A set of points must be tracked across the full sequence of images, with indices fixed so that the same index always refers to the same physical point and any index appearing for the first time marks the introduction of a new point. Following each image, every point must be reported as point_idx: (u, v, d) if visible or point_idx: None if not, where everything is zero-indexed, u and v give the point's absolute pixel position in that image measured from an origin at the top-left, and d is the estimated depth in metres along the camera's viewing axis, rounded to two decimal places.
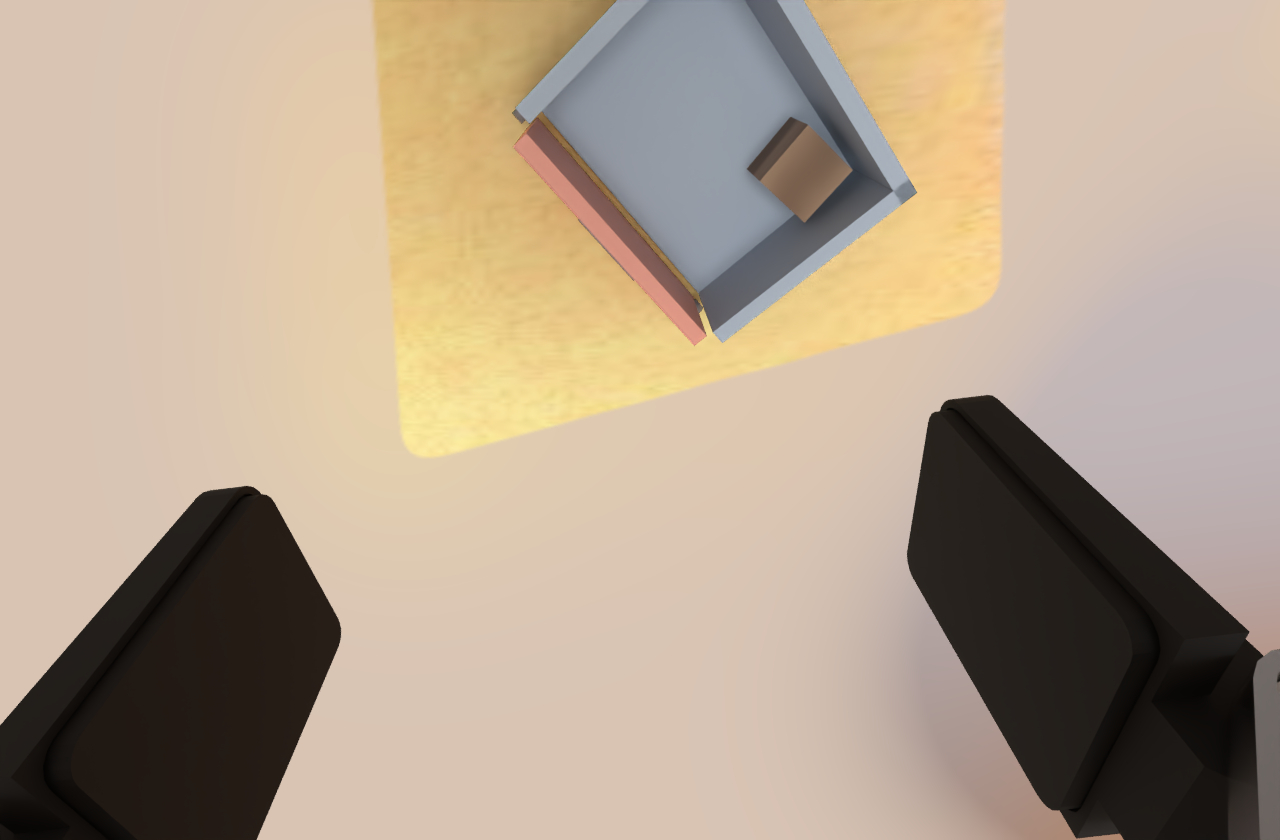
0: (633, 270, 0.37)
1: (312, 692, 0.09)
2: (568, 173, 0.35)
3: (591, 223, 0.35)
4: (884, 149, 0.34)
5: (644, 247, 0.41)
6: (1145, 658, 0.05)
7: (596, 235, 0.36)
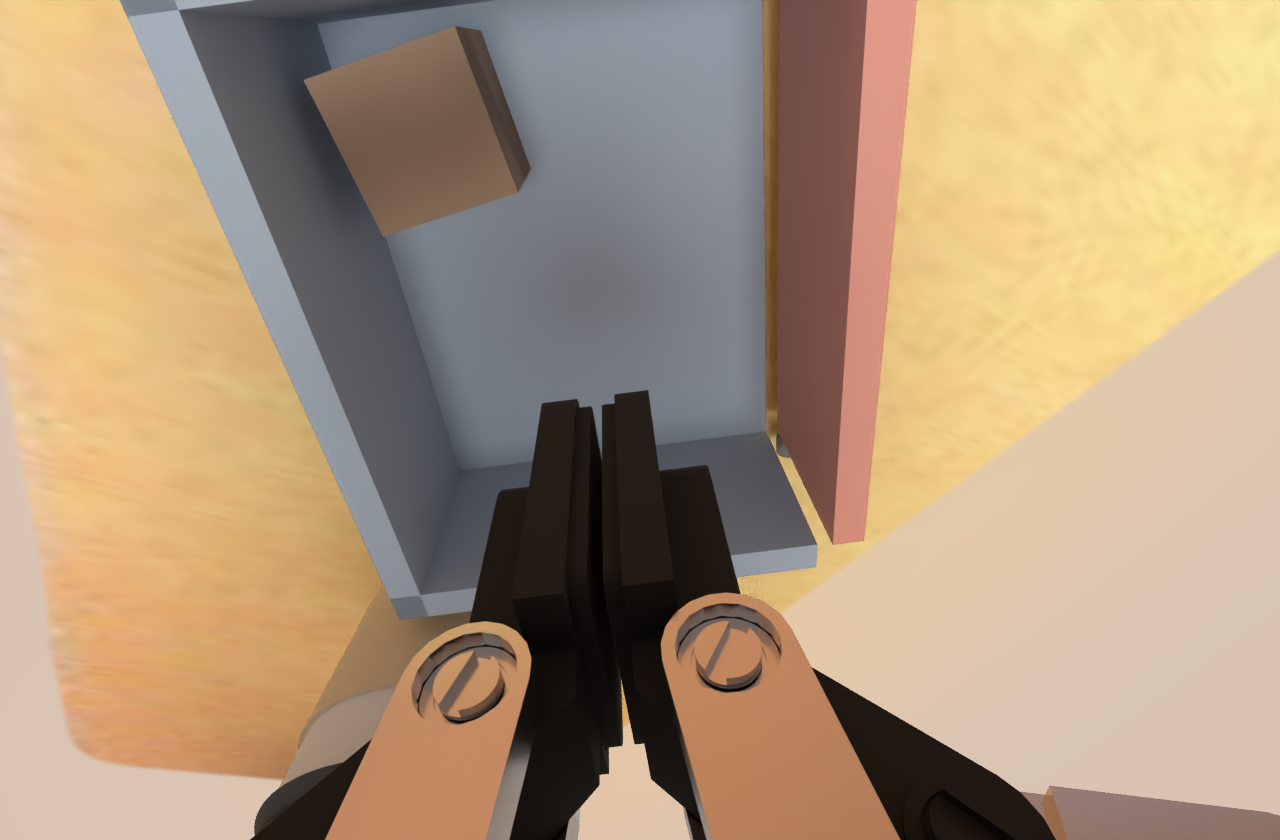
0: (878, 253, 0.15)
1: None
2: (820, 437, 0.20)
3: (865, 386, 0.17)
4: (199, 143, 0.13)
5: (795, 187, 0.19)
6: (618, 604, 0.06)
7: (877, 362, 0.17)
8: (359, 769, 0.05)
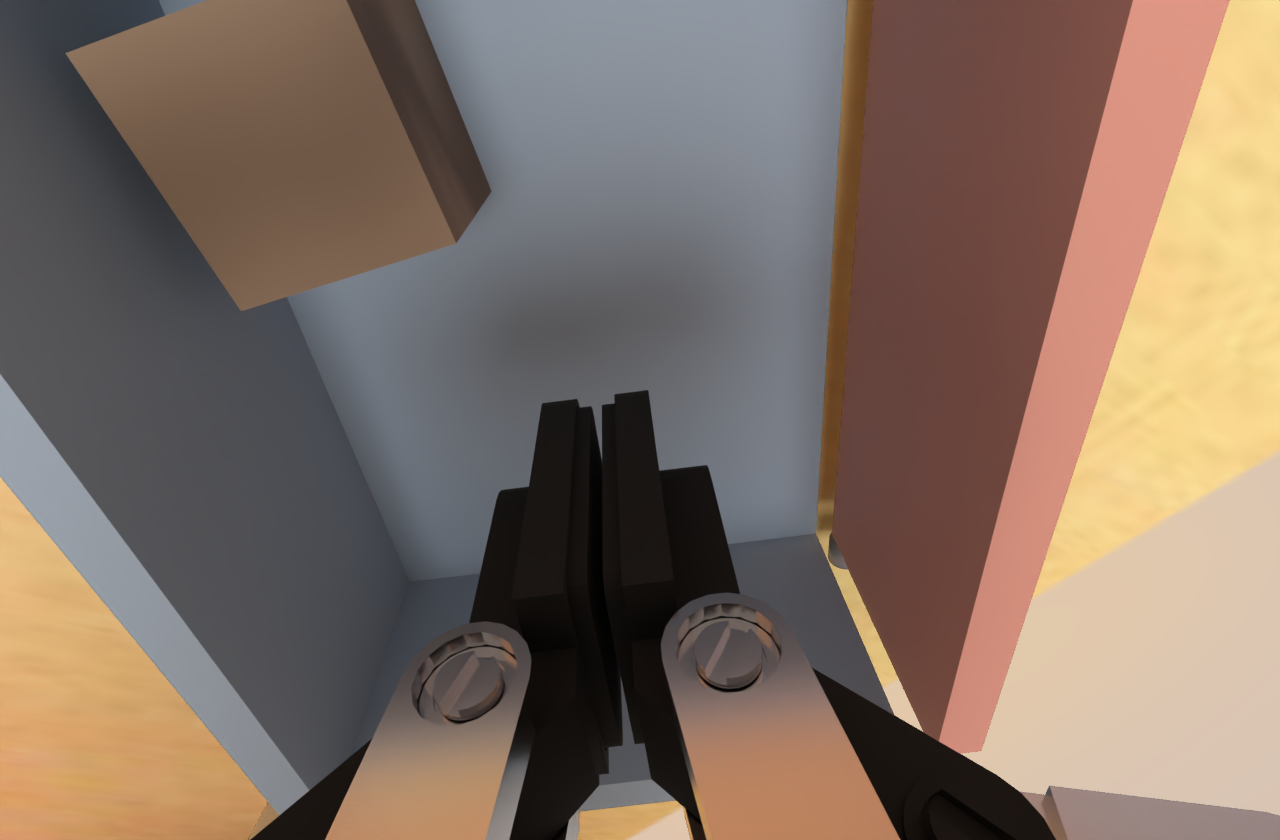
0: (1083, 372, 0.08)
1: None
2: (920, 600, 0.13)
3: (1022, 564, 0.10)
4: None
5: (894, 228, 0.12)
6: (617, 604, 0.06)
7: (1047, 532, 0.10)
8: (359, 771, 0.05)
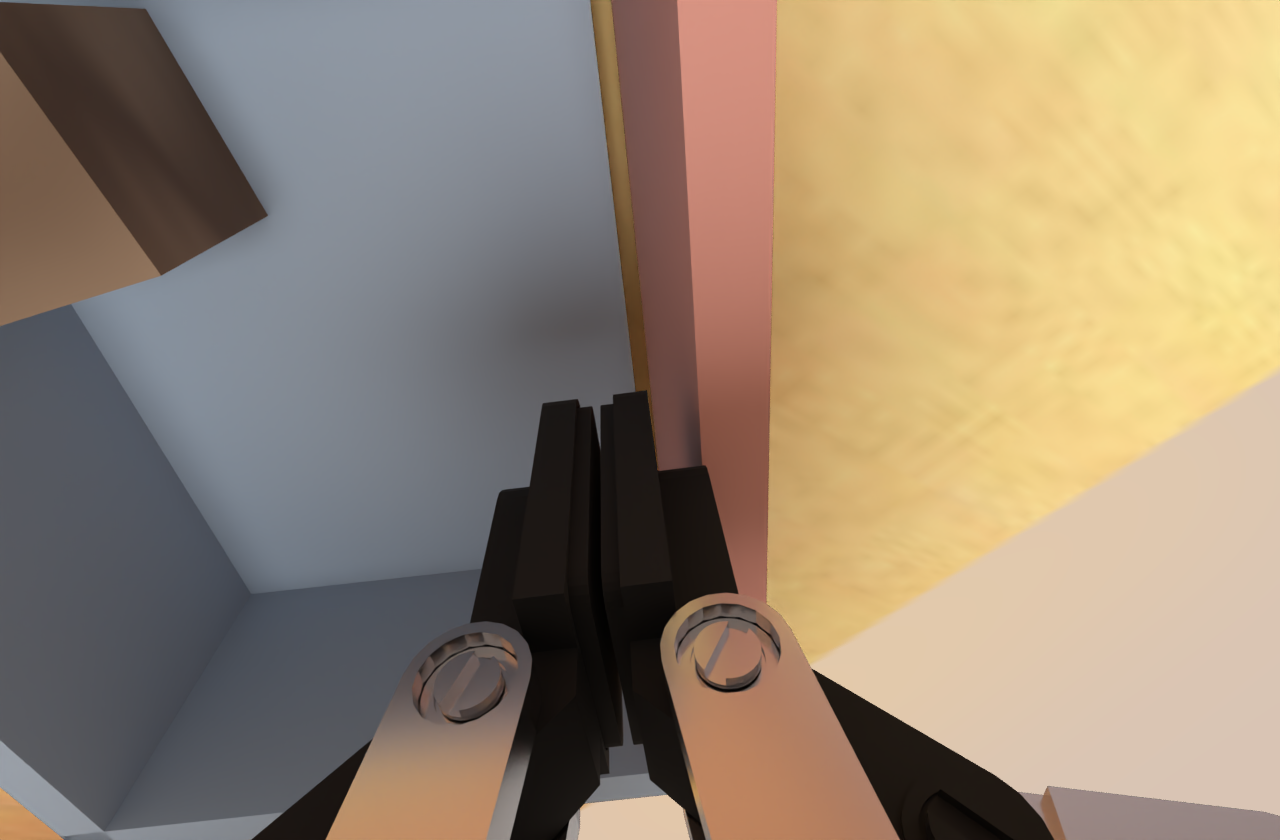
0: (745, 410, 0.09)
1: None
2: None
3: (745, 591, 0.11)
4: None
5: (647, 259, 0.12)
6: (616, 605, 0.06)
7: (760, 560, 0.10)
8: (360, 769, 0.05)
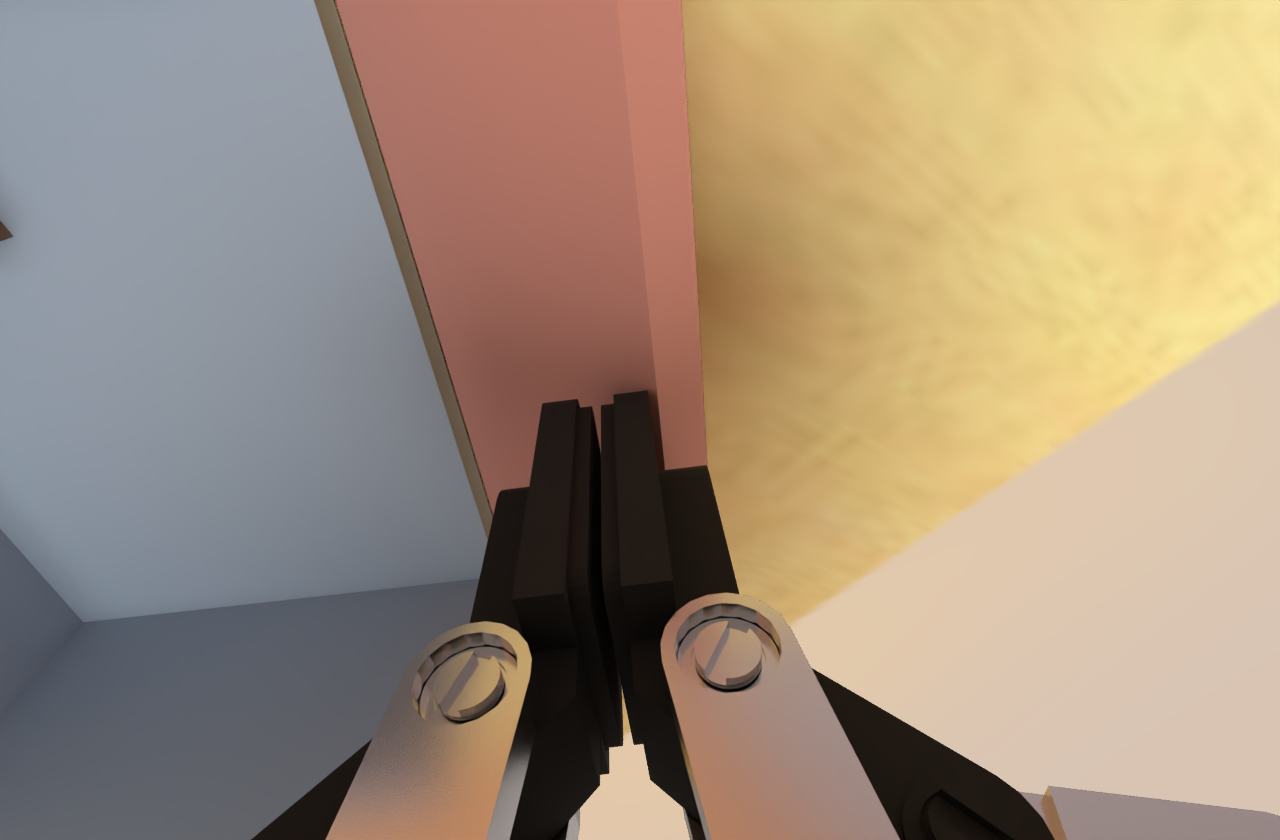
0: (686, 360, 0.09)
1: None
2: None
3: None
4: None
5: (465, 270, 0.12)
6: (616, 605, 0.06)
7: None
8: (360, 769, 0.05)
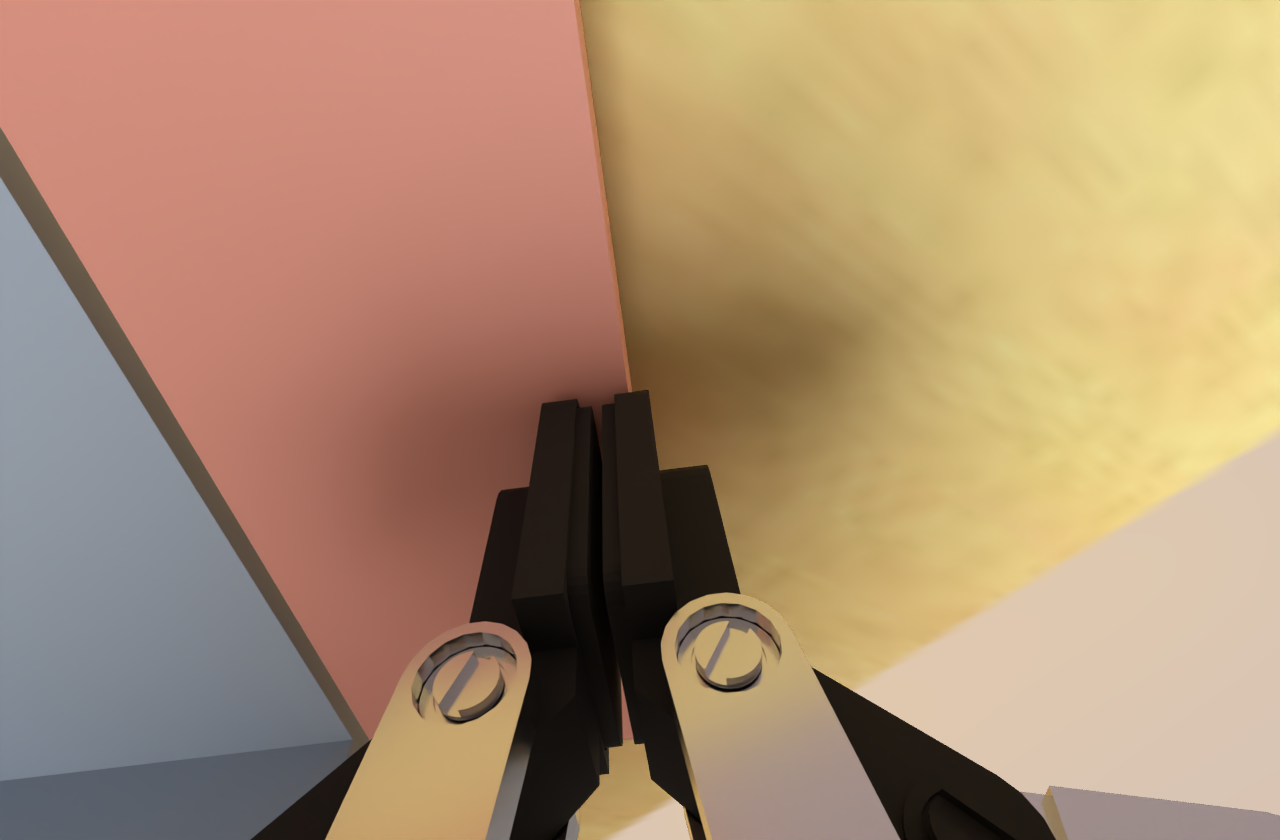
0: (628, 366, 0.10)
1: None
2: None
3: None
4: None
5: (293, 378, 0.09)
6: (617, 604, 0.06)
7: None
8: (360, 769, 0.05)
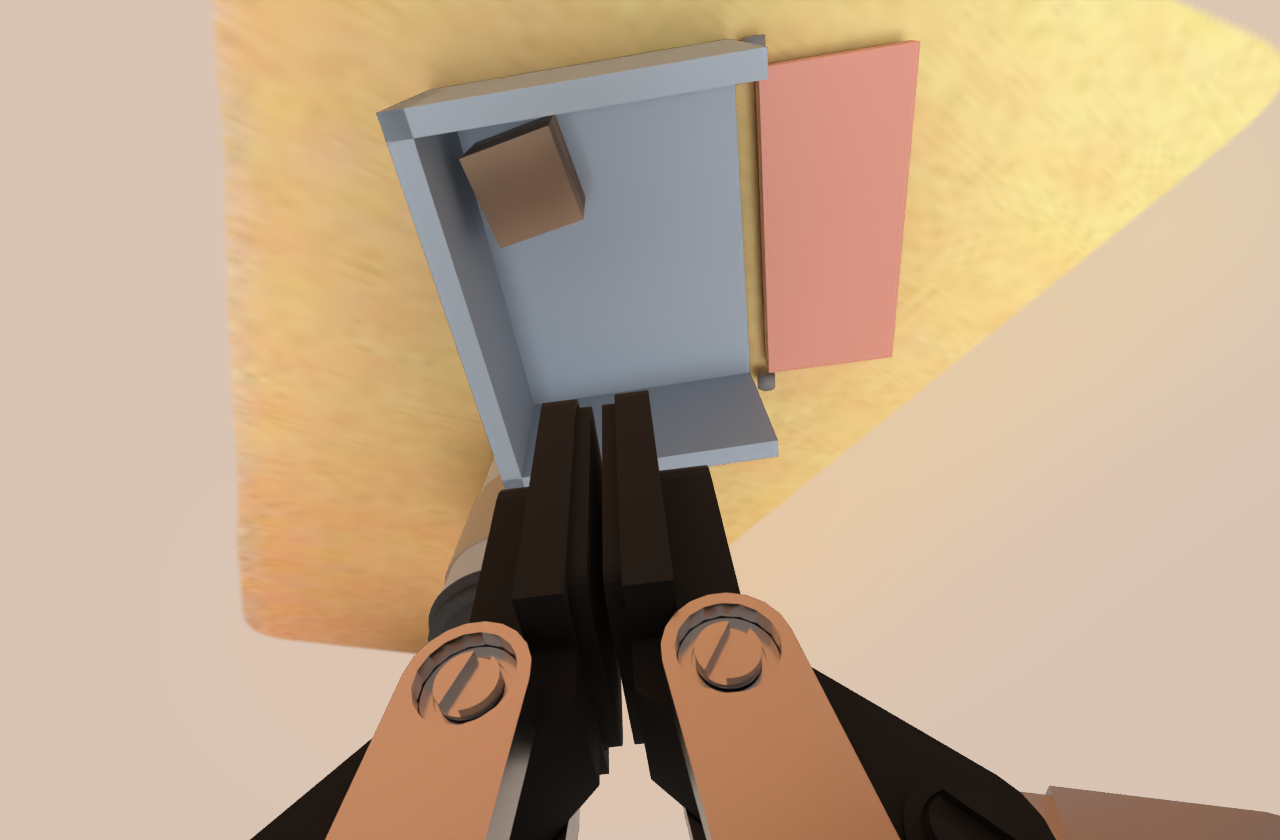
0: None
1: None
2: (866, 311, 0.34)
3: None
4: (416, 205, 0.24)
5: (805, 190, 0.30)
6: (617, 604, 0.06)
7: None
8: (359, 769, 0.05)
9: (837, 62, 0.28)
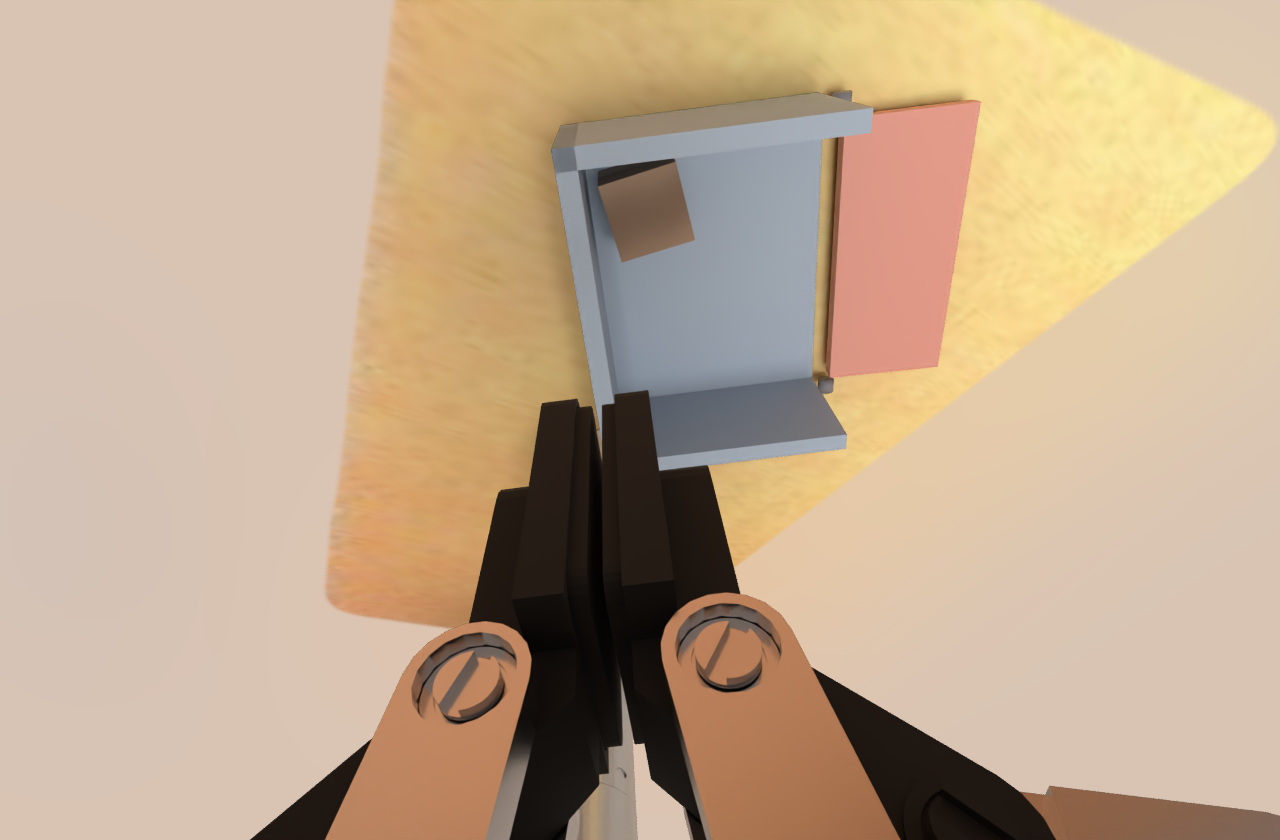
0: None
1: None
2: (918, 326, 0.39)
3: None
4: (570, 225, 0.29)
5: (875, 220, 0.36)
6: (617, 604, 0.06)
7: None
8: (360, 769, 0.05)
9: (911, 116, 0.33)
